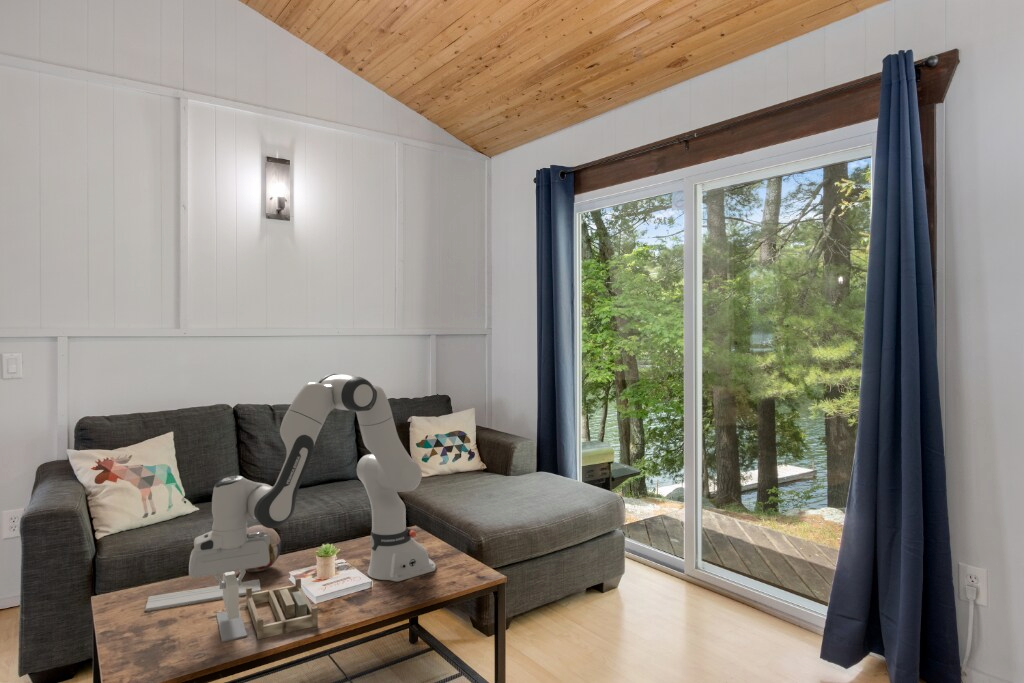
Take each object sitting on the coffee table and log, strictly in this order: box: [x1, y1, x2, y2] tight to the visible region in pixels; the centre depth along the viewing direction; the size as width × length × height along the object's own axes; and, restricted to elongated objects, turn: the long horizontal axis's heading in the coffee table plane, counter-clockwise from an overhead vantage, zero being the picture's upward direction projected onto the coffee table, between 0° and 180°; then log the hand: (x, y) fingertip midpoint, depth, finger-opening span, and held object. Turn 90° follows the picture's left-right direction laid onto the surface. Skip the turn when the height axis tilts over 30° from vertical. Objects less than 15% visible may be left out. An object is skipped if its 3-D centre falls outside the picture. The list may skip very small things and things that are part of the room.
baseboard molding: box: [144, 577, 262, 612], centre depth 194 cm, size 31×3×12 cm
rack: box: [245, 576, 319, 640], centre depth 180 cm, size 15×24×5 cm, turn 29°
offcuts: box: [278, 589, 307, 619], centre depth 183 cm, size 5×16×4 cm, turn 29°
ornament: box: [246, 524, 282, 573], centre depth 213 cm, size 15×15×15 cm
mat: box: [216, 609, 248, 643], centre depth 174 cm, size 6×18×1 cm, turn 29°
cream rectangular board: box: [222, 571, 240, 620], centre depth 174 cm, size 2×16×9 cm, turn 29°
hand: (230, 586), depth 174 cm, fingers closed on cream rectangular board, 2 cm apart
